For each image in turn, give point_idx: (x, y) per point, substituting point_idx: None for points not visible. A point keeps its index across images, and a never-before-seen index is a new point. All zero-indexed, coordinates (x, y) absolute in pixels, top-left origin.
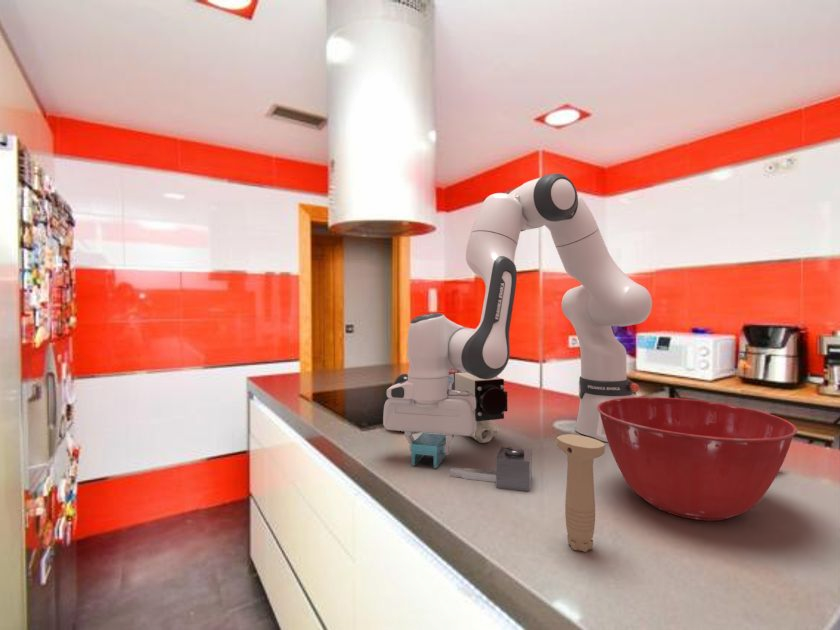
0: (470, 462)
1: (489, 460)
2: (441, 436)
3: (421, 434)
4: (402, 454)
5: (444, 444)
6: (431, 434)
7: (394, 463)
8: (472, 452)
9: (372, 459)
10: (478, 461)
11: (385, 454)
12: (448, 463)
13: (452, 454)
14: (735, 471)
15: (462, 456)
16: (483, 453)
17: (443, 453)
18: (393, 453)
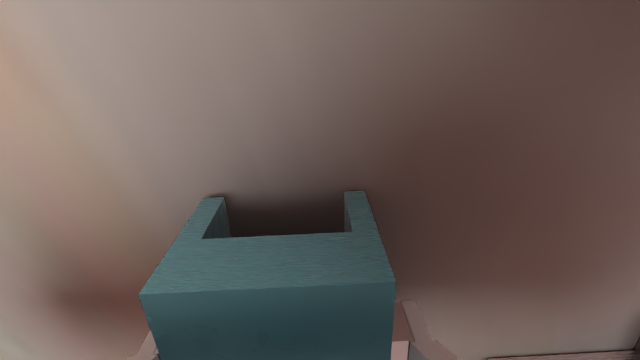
0: (513, 225)
1: (631, 163)
2: (361, 330)
3: (154, 332)
4: (92, 232)
5: (396, 347)
6: (248, 312)
7: (141, 344)
8: (529, 45)
9: (5, 336)
10: (561, 198)
11: (3, 261)
12: (396, 271)
13: (391, 134)
14: None
15: (461, 149)
16: (612, 40)
17: None
18: (31, 234)
